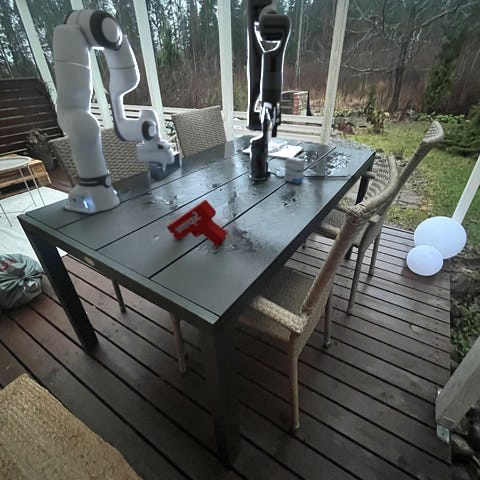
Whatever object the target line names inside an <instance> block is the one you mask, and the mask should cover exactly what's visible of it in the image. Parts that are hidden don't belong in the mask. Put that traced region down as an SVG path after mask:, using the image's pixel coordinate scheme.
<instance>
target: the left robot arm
mask: <svg viewBox="0 0 480 480" xmlns="http://www.w3.org/2000/svg"><path fill="white" fill-rule="evenodd" d="M52 37H53V38H52V55H53V65H54V72H55V73H54V75H55V82H56V115H57V116H56V119H57V124H58V126H59V128H60V129H61V130H62V132H64V134H65V135H67V137H68V141H69V144H70V150H71V157H72V160H73V163H74V166H75V168H76V172H77V175H76V176H74V177H73V178H72V179H73V181H77V183H76V185H75V186H74V187H73V188H72V189H70V190H69V192H68V194H67V198H68V202H67V203H66V204H65V205H64V210H67V211H72V212H77V213H82V214H88V215H93V214H96V213H99V212H104V211H107V210H112V209H114V208H116V207H117V206H118V205H120V203H121V200H120V198H119V196H118V195H117V191H116V190H115V189H114V186H113V183H112V178H111V174H110V171H109V170H108V168H107V165H106V160H105V157H104V152H103V145H102V136H101V132H102V129H101V124H100V123H99V121H98V119H97V118H96V116H94V114H92V113H91V100H92V95H93V80H92V79H93V78H92V67H91V66H92V65H91V58H90V56H91V51H92V49H95V50H100V51H101V52H102V54H103V55H104V57H105V60H106V65H107V67H108V71H109V80H108V82H107V85H106V87H107V89H106V90H107V95H108V101H109V106H110V107H109V108H110V112H111V116H112V124H113V125H112V126H113V127H112V128H113V133H114V135H115V137H116V138H118V139H119V141H121V142H126V143H127V142H137V144H136V145H135V148H136V159H137V161H139V162H144V163H146V165H147V166H148V163H149V162H159V163H162V165H163V167H162V168H161V171H165V166H166V163H167V164H171V163H173V162H174V154H173V152H174V151H173V149H172V143H171V142H169V141H167V140H164V139H162V135H161V133H160V132H161V131H160V130H161V127H160V122H159V117H158V114H157V112H156V111H155V110H154V109H140V110H139V117H137V118H136V119H134V118H132V119H131V118H127V117H126V115H125V109H124V104H123V97H124V95H125V94H127V93H129V92H131V91H132V90H134V89H135V88H137V86H138V84H139V82H140V72H139V67H138V64H137V61H136V57H135V54H134V51H133V49H132V47H131V44H130V41H129V39H128V38H127V36H126V35H125V33H124V34H123V32H122V29H121V26H120V24H119V22H118V21H117V18H115V17H114V15H113V14H111V13H110V12H107V11H105V10H101V9H90V8H81V9H73V10H70V11H68V12H67V13H66V15H65V16H64V18H63V24H59V25H57V26H55V27H54V30H53V35H52ZM141 142H142V143H141Z"/></svg>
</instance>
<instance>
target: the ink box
mask: <svg viewBox="0 0 480 480" xmlns="http://www.w3.org/2000/svg"><path fill="white" fill-rule="evenodd" d="M305 162H306V159H304V158H299V157H296V156H294V157H289V158H287V159H286V158H285V169H284V176H285V178H284V181H285V182H289V183H293V184H295V185H298V184H300V183H302V182H303V180H304V177H303V175H304V173H305V171H304V170H305Z"/></svg>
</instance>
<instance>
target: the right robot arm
mask: <svg viewBox="0 0 480 480" xmlns="http://www.w3.org/2000/svg"><path fill="white" fill-rule="evenodd" d="M277 9H278V8H277V4H276V0H246V24H247V50H248V51H247V57H248V58H247V81H248V82H247V84H248V85H247V86H248V106H247V128H248V130H249V131H250V132H261V135H259V136H257V137H254V138H251V139H250V146H251V148H250V154H249V157H250V158H249V160H250V161H249V165H250V166H249V167H250V168H248V171H249V178H250V180H253V181H256V182H257V181H265V180H268V179H269V178H271V175H274V177H276V178H277V179H285V175H282V176H279V175H277V173H276V172H272V170H271V169H270V168H269V156H268V145H269V139H270V137H271V139H272V138H277V137H278V127H279V126H281V125H282V113H283V111H282V110H283V109H282V106H278V103H281V102H282V97H283V96H282V95H283V81H284V80H283V78H284V77H283V69H284V68H283V67H284V57H285V51H286V47H287V43H288V40H289V37H290V35H291V30H292V20H291V17H290V15H288V14H285V13H279V12H278V10H277ZM256 25H257V28H256ZM256 29H257V30H256ZM260 41H262V42H264V43H277V45H276V47H275V48H273V49H271V50H267V51H265V50H264V48H263V47H262V44H261V42H260ZM259 98H260V102H261V103H260V106H259V110H256V108H257V103H258V102H259ZM305 175H306V174H303V178H323V179H324V178H325V179H327V178H328V179H334V178H335V179H339V178H347V177H349V176H345V175H311V176H305ZM350 177H351V178H354V175H352V176H350Z"/></svg>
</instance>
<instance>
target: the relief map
mask: <svg viewBox="0 0 480 480" xmlns="http://www.w3.org/2000/svg"><path fill="white" fill-rule="evenodd" d="M302 147H303V146H294V145H292V144H290V143H289V142H288V141H284V142H282V143H280V144H279V143H278V142H276V141H273V140H272V138H269V145H268V157H271V158H277V159H285V160H286V159H287V158H289V157H296V156H297V155H298V154H299V153H300V152H302V151H303V150H304V148H303V149H302ZM250 148H251V145H250V146H249V147H248V148H247V149H245V150H242V153H243V154H247V155H248V154H249V155H250ZM296 153H297V154H296Z"/></svg>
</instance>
